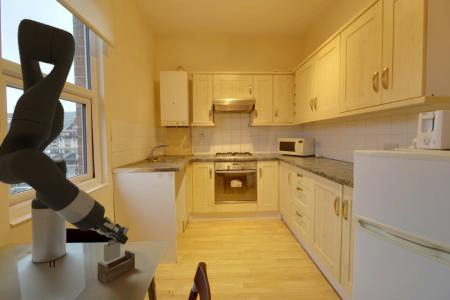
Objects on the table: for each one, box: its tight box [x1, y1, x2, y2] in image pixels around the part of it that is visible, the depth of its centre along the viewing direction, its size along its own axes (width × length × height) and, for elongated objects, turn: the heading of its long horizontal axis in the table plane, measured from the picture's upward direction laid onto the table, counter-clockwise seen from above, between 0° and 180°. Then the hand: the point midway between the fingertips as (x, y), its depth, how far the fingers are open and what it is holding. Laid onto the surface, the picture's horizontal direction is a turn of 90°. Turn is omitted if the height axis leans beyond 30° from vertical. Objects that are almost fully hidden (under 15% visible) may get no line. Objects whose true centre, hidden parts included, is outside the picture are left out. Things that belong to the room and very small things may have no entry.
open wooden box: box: [97, 249, 136, 283], centre depth 67 cm, size 4×9×4 cm, turn 149°
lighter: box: [103, 226, 129, 263], centre depth 67 cm, size 7×2×8 cm, turn 150°
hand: (123, 240), depth 68 cm, fingers closed on lighter, 2 cm apart
